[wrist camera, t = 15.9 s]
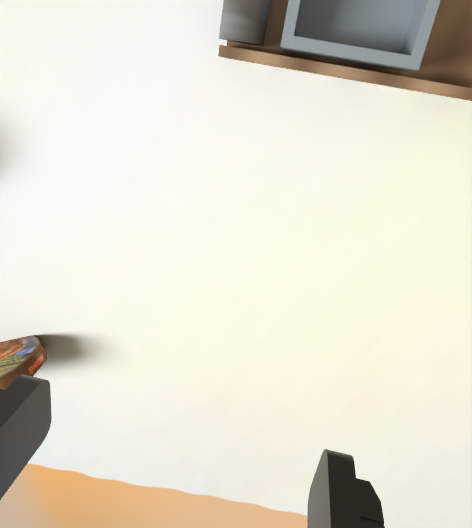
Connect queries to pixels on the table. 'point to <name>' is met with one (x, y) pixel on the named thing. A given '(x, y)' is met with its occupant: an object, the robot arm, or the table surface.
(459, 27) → the bay
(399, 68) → the tray with upright post
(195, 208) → the table surface
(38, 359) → the tin
